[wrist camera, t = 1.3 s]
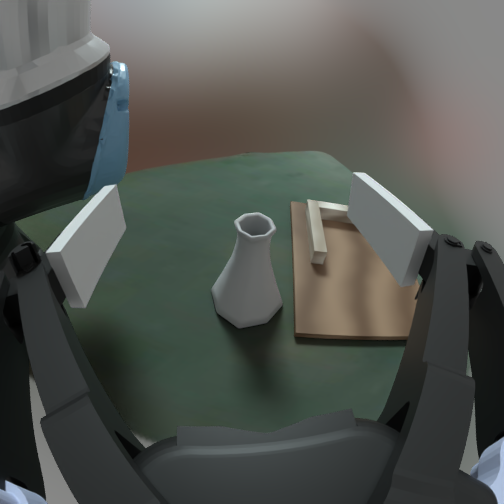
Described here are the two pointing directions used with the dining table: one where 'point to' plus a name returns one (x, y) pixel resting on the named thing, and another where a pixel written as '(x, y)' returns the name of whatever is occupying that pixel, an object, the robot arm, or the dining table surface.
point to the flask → (249, 275)
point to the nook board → (343, 280)
